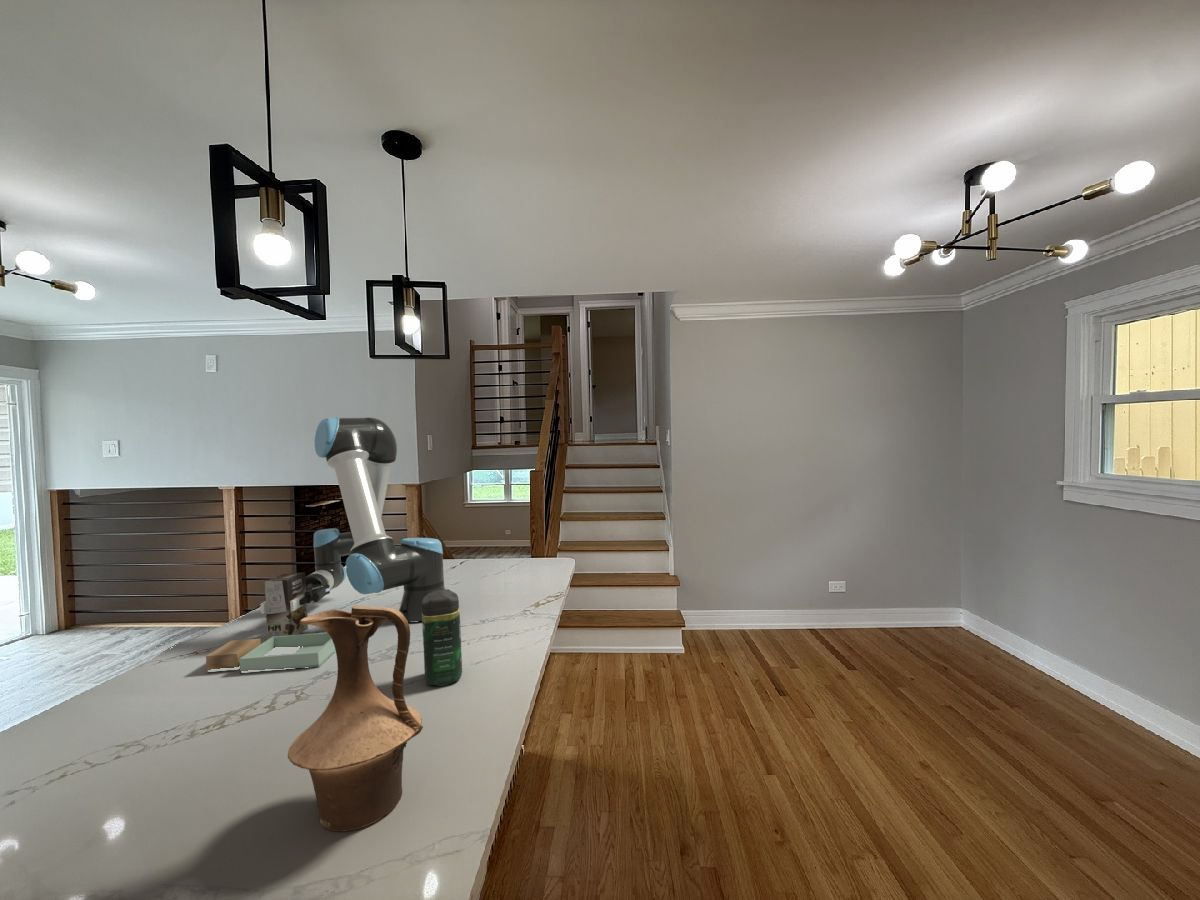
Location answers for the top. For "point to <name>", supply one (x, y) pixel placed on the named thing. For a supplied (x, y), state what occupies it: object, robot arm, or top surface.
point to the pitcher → (358, 725)
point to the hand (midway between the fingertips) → (277, 607)
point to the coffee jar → (441, 637)
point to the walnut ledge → (231, 653)
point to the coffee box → (285, 605)
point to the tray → (310, 655)
